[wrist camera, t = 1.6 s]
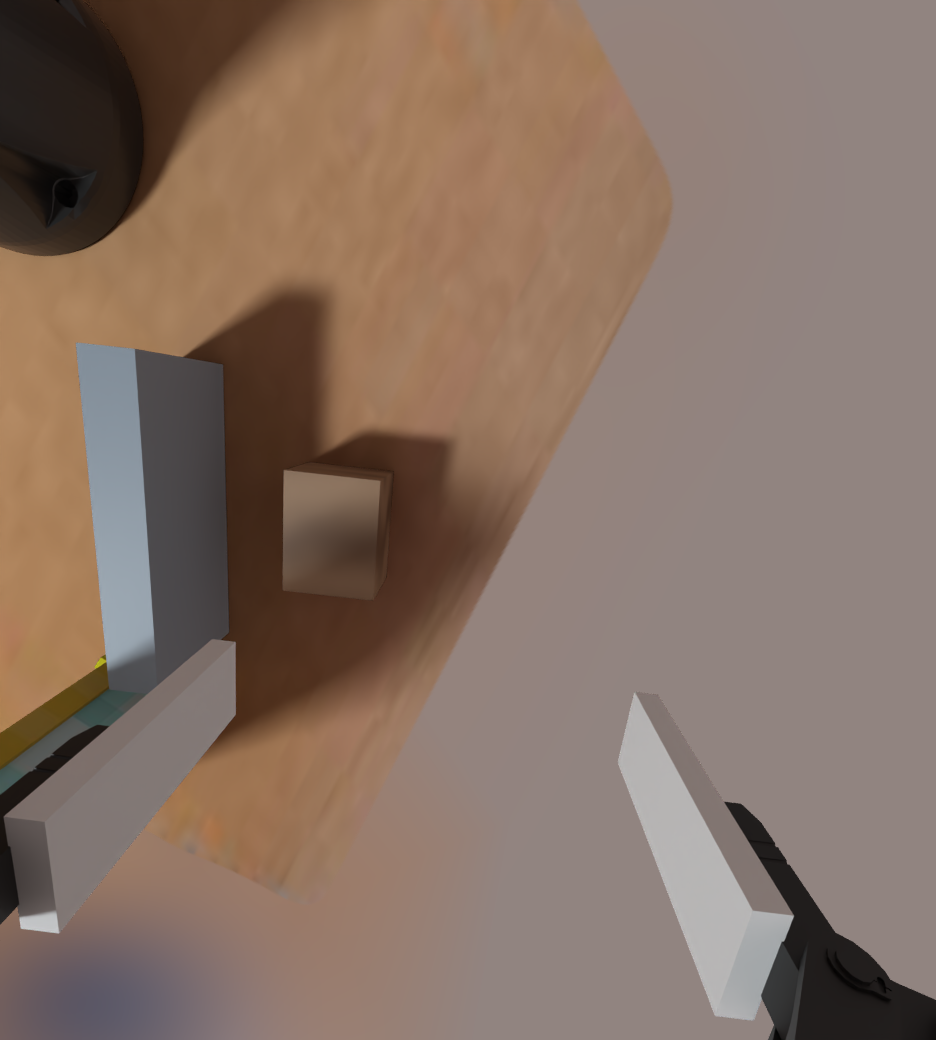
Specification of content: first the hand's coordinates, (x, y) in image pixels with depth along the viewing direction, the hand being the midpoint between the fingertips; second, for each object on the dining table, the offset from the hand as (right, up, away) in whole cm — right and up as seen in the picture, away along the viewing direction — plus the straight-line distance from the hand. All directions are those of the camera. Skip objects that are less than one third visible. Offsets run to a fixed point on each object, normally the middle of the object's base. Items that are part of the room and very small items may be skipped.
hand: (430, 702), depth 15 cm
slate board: (-18, +7, +18) cm, 26 cm away
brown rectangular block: (-7, +6, +18) cm, 21 cm away
